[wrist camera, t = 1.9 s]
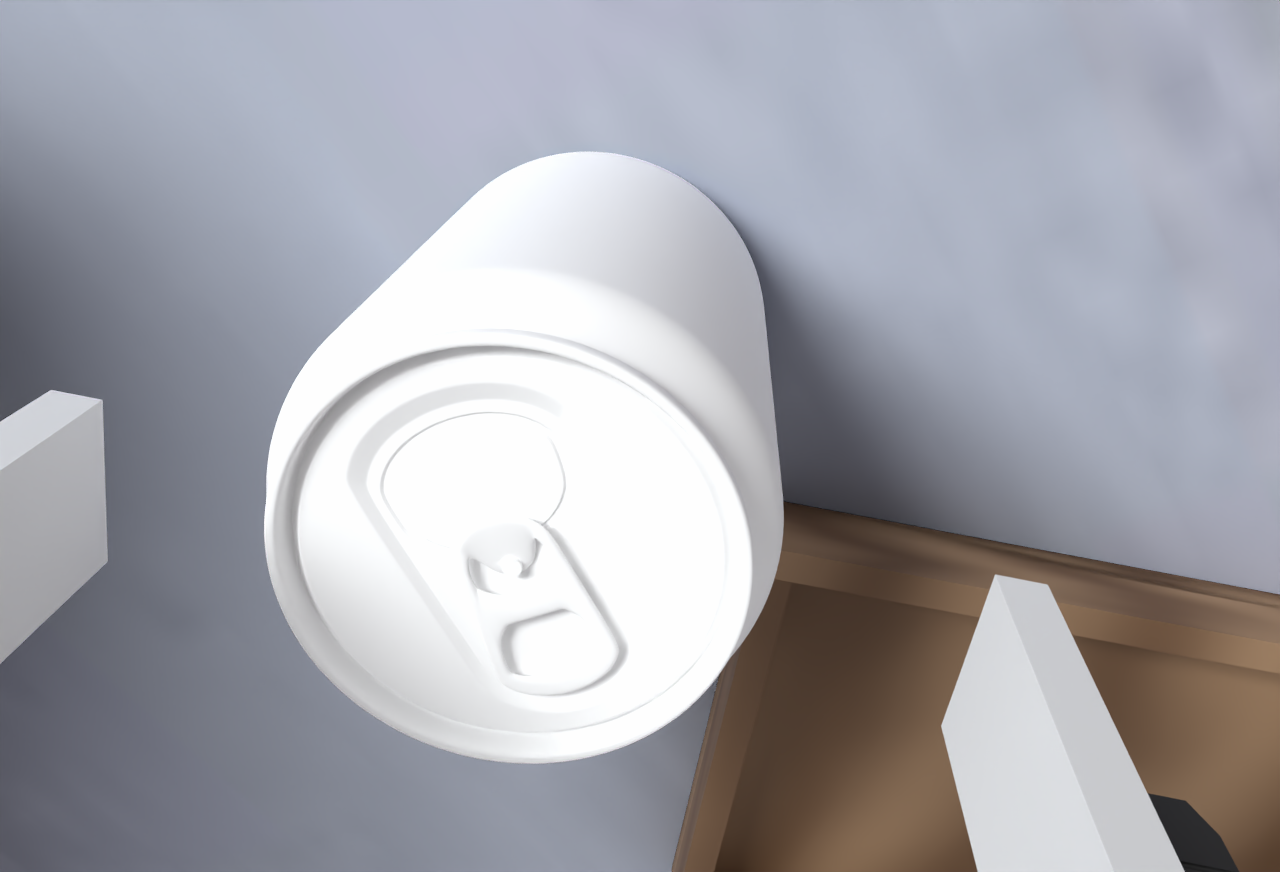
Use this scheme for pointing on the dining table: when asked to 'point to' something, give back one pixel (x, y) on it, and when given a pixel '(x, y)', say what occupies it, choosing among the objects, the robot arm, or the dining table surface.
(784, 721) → the walnut tray
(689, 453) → the beverage can
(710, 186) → the dining table surface
